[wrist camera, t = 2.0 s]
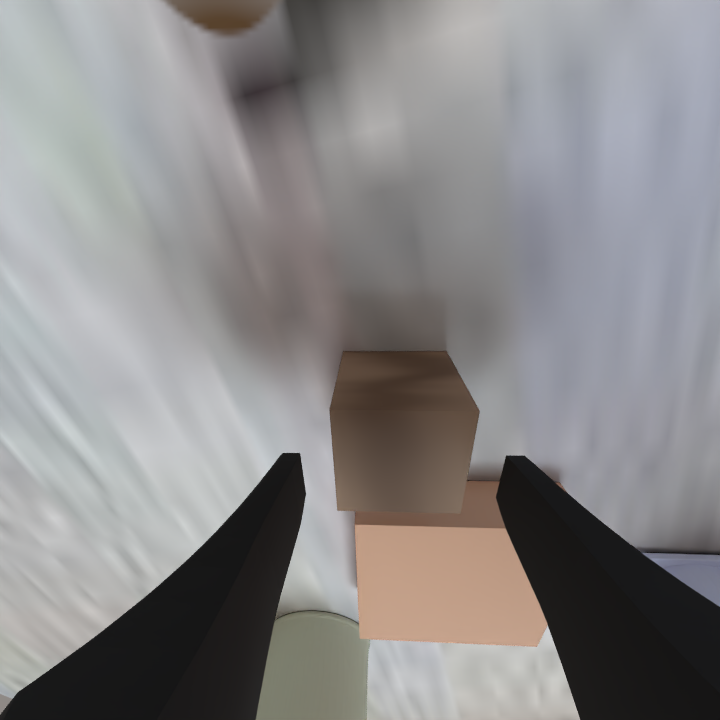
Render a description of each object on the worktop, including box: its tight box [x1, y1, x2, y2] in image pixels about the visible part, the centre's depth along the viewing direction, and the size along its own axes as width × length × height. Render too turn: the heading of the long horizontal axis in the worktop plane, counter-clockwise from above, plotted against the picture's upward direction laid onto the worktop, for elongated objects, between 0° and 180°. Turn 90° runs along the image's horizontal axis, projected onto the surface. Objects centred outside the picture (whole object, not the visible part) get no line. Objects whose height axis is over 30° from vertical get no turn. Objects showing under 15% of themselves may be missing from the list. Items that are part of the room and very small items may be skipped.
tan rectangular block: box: [355, 481, 566, 647], centre depth 19 cm, size 12×12×3 cm
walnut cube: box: [330, 351, 480, 514], centre depth 13 cm, size 5×5×5 cm
